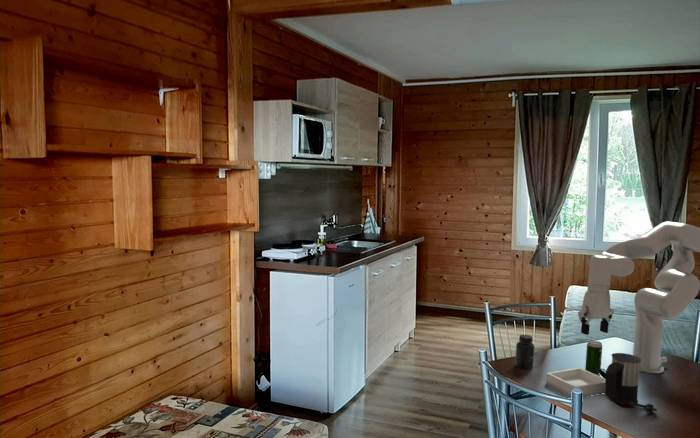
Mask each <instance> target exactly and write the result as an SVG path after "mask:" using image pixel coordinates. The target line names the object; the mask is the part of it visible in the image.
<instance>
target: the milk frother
mask: <svg viewBox="0 0 700 438" xmlns="http://www.w3.org/2000/svg"><path fill="white" fill-rule="evenodd" d="M611 357H612V358H611V359H612V360H611V363H610V364H608V366H607V367H606V371H605V379H606V383H605V396H606V397H607V398H608V399H609V400H611V401H612V402H615V403H617V402H618V403H617V404H620V405H621V404H622V405H631V406H634V407H635V406H636V407H639V408H642V409H644V410H645V411H646V412H647V413H651V414H652V413H653V412H657V411H658V409H657V408H655V407H654V405H653V404H651V403H647V404H640V403H639V400H638V396H639V394H638V393H639V391H638V389H639V381H640V372H641V371H640V362H641V359H640V358H639V357H637V356H634V355H633V354H629V353H623V352H615V353H612V354H611Z"/></svg>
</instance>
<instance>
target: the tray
mask: <svg viewBox="0 0 700 438" xmlns="http://www.w3.org/2000/svg"><path fill="white" fill-rule="evenodd" d="M605 383H606V377H605V378H604V377H602V376H600V375H595V374H593V373H591V372H589V371H586V370H585V368H581V367H577V368H576V367H575V368H569V369H563V370H562V369H561V370H557V371H551V372H546V374H545V384H546V385H547V386H549V387H552V388H554V389H556V390H557V391H559V392H561V393H562V394H565V395H567V396H569V397H571V392H572V390H573V389H574V388H579V389H581V390H582V391H583V398H588V397H587V396H589V397H592V396H591V395H595V396H597V395H596V394H600V395H603V394H602V393H605ZM583 398H582V399H583Z"/></svg>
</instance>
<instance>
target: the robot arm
mask: <svg viewBox="0 0 700 438" xmlns="http://www.w3.org/2000/svg"><path fill="white" fill-rule="evenodd" d="M670 245H672V249H673V250H672V257H671V258H670V260H669V261H668V262H667V263H666V265H665V266H664V267H663V268H662V269H661V270H660V272H659V273H658V274H657V275H656V276H655V277H654V280H653V283H654V287H655V288H656V289H655V288H650V287H644V288H641V289H639V290H638V291H636V293H635V296H634V299H633V301H634V302H633V303H634V309H635V311H634V312H635V327H634V335H633V339H634V340H633V347H632V348H633V349H632V355H634V356H637V357H639V358H640V359H641V362H640V371H639V372H640V373H647V374H662V373H664V371H665V368H664V366H663V365H662V363H666V362H668V357H667V356H662V357H661V354H662V353H661V352H662V344H663V343H662V342H663V331H664V325H663V324H664V323H663V320H662V319H666V320H676V318H678V317H679V316H681V314H682V313H683V312H684V311H685V310H686V309H687V308H688V307H689V305H690V304H691V303H692V302H693V300H694V299H695V298H696V297H697V296H698V294H699V291H700V279H699V278H698V277H697V276H696V275H694V274H692V272H693V271H694V270H695V264H696V262H695V258H694V252H695V253H700V227H697V226H695V225H692V224H688V223H684V222H675V221H663V222H661V223H659V224H658V225H656V226H655V227H652V229H651V228H650V230H648V231H646V232H645V233H643V234H642V235H640V236H638V237H636V238H632V239H629V240H625V241H622V242H619V243H616V244H614V245H612V246H610V247H608V248H606V249H605V250H603V251H602V252H601V253H599V254H594V255H591V257H590V258H589V268H588V277H587V278H588V280H587V290H586V291H585V293H584V295H583V300H582V305H581V309H580V310H579V311H577V315H578V319H579V320H580V323H581V327H580V328H581V329H580V333H581V334H583V335H586V336H588V335H590V322H591V321H592V320H599V319H601V320H600V323H599V324H600V326H599V331H600V332H602V333H604V334H605V333H606V334H607V333H609V323H611V319H612V318H613V314H614V312H615V310H614V309H612V308H611V295H610V294H611V293H610V288H611V277H612V276H617V277H628V276H630V275H631V274H632V273H633V272H634V270H635V263H634V262H633V260H632V259H644V258H645V259H646V258H651V257H654V256H656V255H657V254H658V253H659V252H661V251H662V250H664V249H666V248H667V247H668V246H670Z"/></svg>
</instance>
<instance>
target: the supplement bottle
mask: <svg viewBox="0 0 700 438" xmlns="http://www.w3.org/2000/svg"><path fill="white" fill-rule="evenodd" d="M518 337H519V338H518V340H519V341H518V342H516V343H515V344H516V347H515V358H514V359H515V360H514V364H515V366H516V367H517V368H520V369H525V370H526V369H527V370H530V369H533V368H534V359H535V344H534V343H533V336H532V335H529V334H520V335H519V336H518Z"/></svg>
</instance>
